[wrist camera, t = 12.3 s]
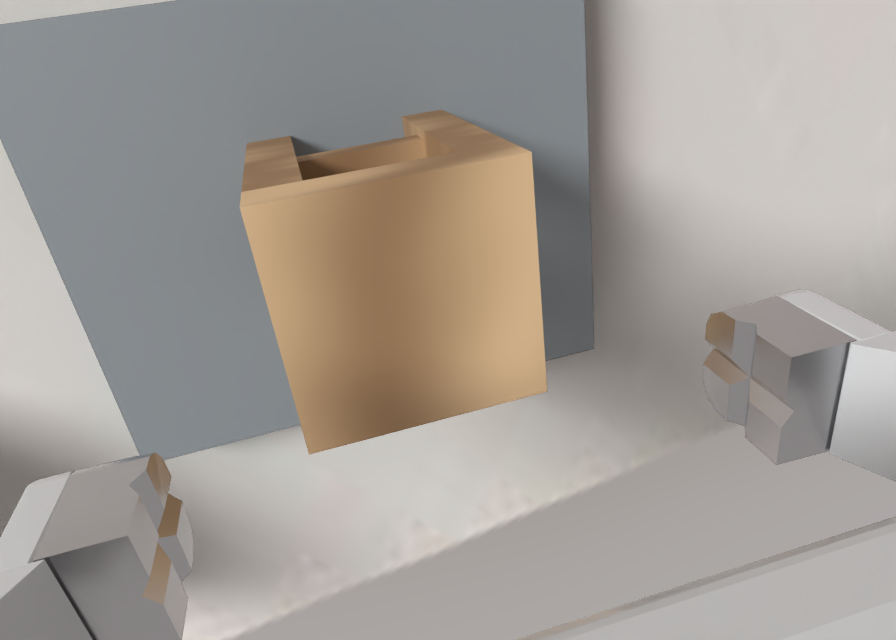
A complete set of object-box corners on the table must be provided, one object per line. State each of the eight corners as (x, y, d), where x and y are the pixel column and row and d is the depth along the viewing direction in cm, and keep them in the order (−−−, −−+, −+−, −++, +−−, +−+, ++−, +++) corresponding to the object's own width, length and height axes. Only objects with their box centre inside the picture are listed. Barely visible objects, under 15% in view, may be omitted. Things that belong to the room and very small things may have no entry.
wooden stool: (441, 109, 18) (531, 152, 12) (463, 284, 21) (547, 391, 15) (246, 143, 18) (239, 207, 11) (294, 322, 20) (309, 454, 14)
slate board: (553, -49, 19) (582, -55, 18) (571, 326, 25) (594, 348, 24) (-15, 30, 17) (-48, 30, 15) (153, 430, 22) (144, 465, 21)
